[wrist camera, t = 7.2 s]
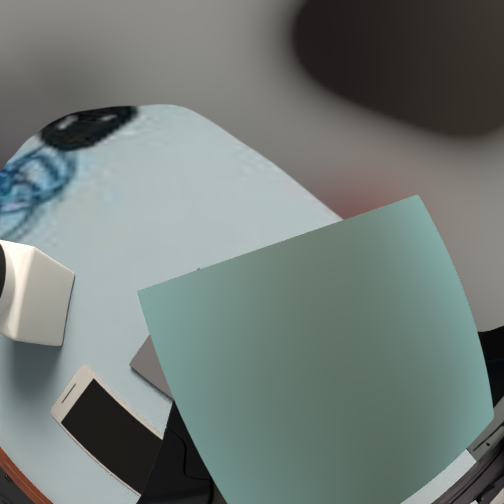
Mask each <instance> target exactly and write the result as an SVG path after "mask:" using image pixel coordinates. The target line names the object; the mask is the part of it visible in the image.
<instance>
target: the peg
mask: <svg viewBox="0 0 504 504" xmlns="http://www.w3.org/2000/svg"><path fill="white" fill-rule="evenodd" d="M137 292H138V296H139V300H140V303H141V307H142V310H143V313H144V317H145V320H146V323H147V326H148V330H149V333H150V336H151V339H152V342H153V345H154V348H155V350H156V353H157V356H158V359H159V362H160V364H161V367H162V370H163V373H164V375H165V378H166V380H167V383H168V385H169V388H170V390H171V393H172V395H173V398H174V400H175V403H176V405H177V407H178V410H179V412H180V414H181V416H182V419H183V421H184V423H185V425H186V427H187V429H188V432H189V434H190V436H191V438H192V440H193V442H194V444H195V446H196V448H197V450H198V452H199V454H200V456H201V458H202V460H203V462H204V464H205V465H206V467H207V469H208V471H209V473H210V475H211V476H212V478H213V480H214V482H215V483H216V485H217V487H218V489H219V490H220V492H221V494H222V495H223V497H224V499H225V500H226V502H227V504H400V503H401V502H403V501H404V500H406V499H407V498H409V497H410V496H411V495H413V494H414V493H416V492H417V491H418V490H420V489H421V488H422V487H423V486H425V485H426V484H427V483H429V482H430V481H431V480H432V479H433V478H435V477H436V476H437V475H438V474H439V473H441V472H442V471H443V470H444V469H445V468H446V467H447V466H449V465H450V464H451V463H452V462H453V461H454V460H455V459H456V458H457V457H458V456H459V455H460V454H461V453H462V452H463V451H464V450H465V449H466V448H467V447H468V446H469V445H470V444H471V443H472V442H473V441H474V440H475V439H476V438H477V437H478V436H479V435H480V434H481V432H482V431H483V430H484V429H485V428H486V427H487V426H488V425H489V423H490V422H491V421H492V420H493V419H494V411H493V404H492V397H491V390H490V385H489V379H488V374H487V369H486V365H485V360H484V356H483V352H482V348H481V344H480V340H479V337H478V333H477V330H476V326H475V323H474V320H473V317H472V313H471V310H470V307H469V304H468V302H467V299H466V296H465V293H464V291H463V288H462V286H461V283H460V280H459V277H458V275H457V273H456V270H455V268H454V265H453V263H452V261H451V258H450V256H449V254H448V252H447V250H446V247H445V245H444V243H443V241H442V239H441V237H440V235H439V233H438V231H437V229H436V227H435V225H434V223H433V221H432V219H431V217H430V215H429V213H428V212H427V210H426V208H425V206H424V204H423V202H422V201H421V199H420V197H419V195H415V196H413V197H410V198H407V199H404V200H401V201H398V202H395V203H392V204H389V205H386V206H383V207H381V208H378V209H375V210H372V211H369V212H366V213H363V214H360V215H357V216H355V217H351V218H349V219H346V220H343V221H340V222H337V223H334V224H331V225H328V226H325V227H322V228H319V229H316V230H314V231H311V232H308V233H305V234H302V235H299V236H296V237H293V238H290V239H287V240H284V241H282V242H279V243H276V244H273V245H270V246H267V247H264V248H261V249H258V250H255V251H252V252H250V253H247V254H244V255H241V256H238V257H235V258H232V259H229V260H226V261H223V262H220V263H218V264H215V265H212V266H209V267H206V268H203V269H200V270H197V271H194V272H191V273H188V274H186V275H183V276H180V277H177V278H174V279H171V280H168V281H165V282H162V283H159V284H156V285H154V286H151V287H148V288H145V289H142V290H139V291H137Z"/></svg>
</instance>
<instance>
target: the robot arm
mask: <svg viewBox="0 0 504 504" xmlns="http://www.w3.org/2000/svg"><path fill="white" fill-rule="evenodd" d="M477 333H478V337H479V340H480V344H481V348H482V352H483V356H484V360H485V365H486V369H487V374H488V379H489V385H490V390H491V397H492V404H493V411H494V419H493V420H492V421H491V422H490V423H489V425H488V426H487V427H486V428H485V429H484V430H483V431H482V432H481V434H480V435H479V436H478V437H477V438H476V439H475V440H474V441H473V442H472V443H471V444H470V445H469V446H468V447H467V448H466V449H467V450H468V451H469V453H470V454H471V455H472V457H473V458H474V459H475V460H476V461H477V462H476V463H475V464H474V465H473V466H472V467H471V468H470V469H469V470H468V471H467V472H466V473H465V474H464V475H463V476H462V477H461V478H460V479H459V480H458V481H457V482H456V483H455V484H454V485H453V486H452V487H450V488H449V489H448V490H447V491H446V492H445V493H444V494H442V495H441V496H440V497H439V498H438V499H436V500H435V501H434V502H433V503H431V504H470V503H471V502H473V501H474V500H476V501H477V502H478V504H504V326H501V327H499V328H496V329H493V330H490V331H485V332H477ZM166 427H167V428H165V432H164V436H163V439H162V443H161V446H160V449H159V452H158V455H157V457H156V460H155V463H154V465H153V468H152V470H151V473H150V475H149V478H148V480H147V482H146V485H145V487H144V490H143V492H142V495H141V497H140V499H139V500H138V502H137V503H136V504H227V502H226V500H225V499H224V497H223V495H222V494H221V492H220V490H219V489H218V487H217V485H216V483H215V482H214V480H213V478H212V476H211V475H210V473H209V471H208V469H207V467H206V465H205V464H204V462H203V460H202V458H201V456H200V454H199V452H198V450H197V448H196V446H195V444H194V442H193V440H192V438H191V436H190V434H189V432H188V429H187V427H186V425H185V423H184V421H183V419H182V416H181V414H180V412H179V410H178V407H177V405H176V403H175V400H174V399H173V403H172V407H171V410H170V414H169V417H168V421H167V425H166Z"/></svg>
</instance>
